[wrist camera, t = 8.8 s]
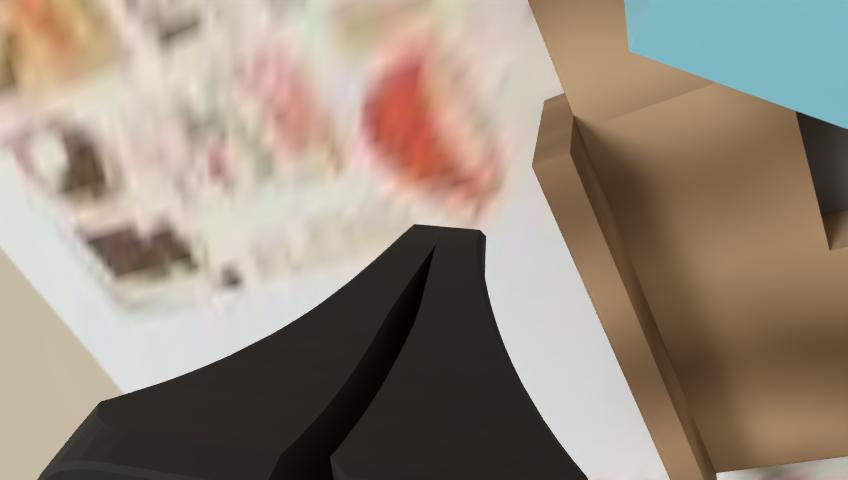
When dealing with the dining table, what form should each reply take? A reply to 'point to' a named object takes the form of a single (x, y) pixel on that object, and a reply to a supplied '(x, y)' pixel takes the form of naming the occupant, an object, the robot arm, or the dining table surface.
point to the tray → (701, 246)
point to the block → (753, 47)
